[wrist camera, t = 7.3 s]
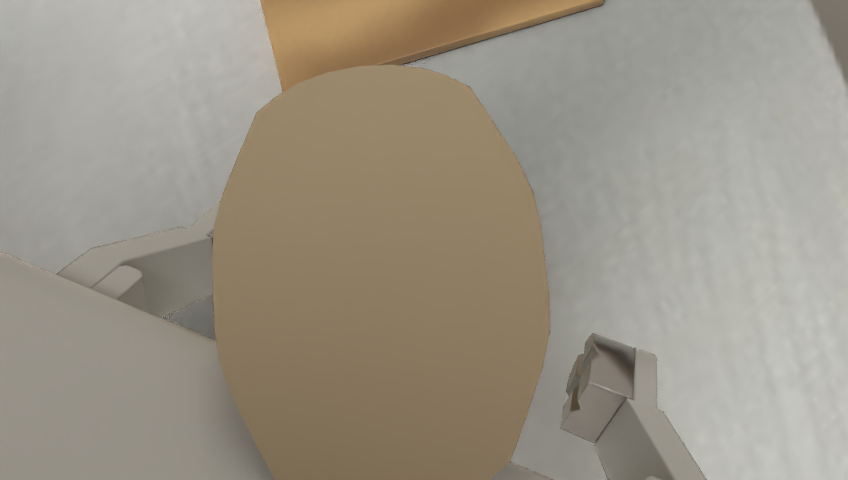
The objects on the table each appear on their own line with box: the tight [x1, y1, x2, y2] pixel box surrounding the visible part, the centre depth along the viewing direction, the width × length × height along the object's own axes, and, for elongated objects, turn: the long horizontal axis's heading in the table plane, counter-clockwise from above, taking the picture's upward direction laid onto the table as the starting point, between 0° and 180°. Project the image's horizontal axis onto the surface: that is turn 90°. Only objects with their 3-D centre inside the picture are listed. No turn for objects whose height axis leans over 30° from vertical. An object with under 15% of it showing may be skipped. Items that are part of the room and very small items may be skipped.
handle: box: [212, 65, 550, 480], centre depth 16 cm, size 5×6×15 cm
